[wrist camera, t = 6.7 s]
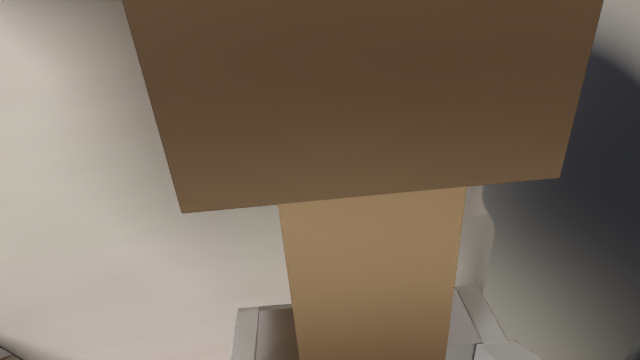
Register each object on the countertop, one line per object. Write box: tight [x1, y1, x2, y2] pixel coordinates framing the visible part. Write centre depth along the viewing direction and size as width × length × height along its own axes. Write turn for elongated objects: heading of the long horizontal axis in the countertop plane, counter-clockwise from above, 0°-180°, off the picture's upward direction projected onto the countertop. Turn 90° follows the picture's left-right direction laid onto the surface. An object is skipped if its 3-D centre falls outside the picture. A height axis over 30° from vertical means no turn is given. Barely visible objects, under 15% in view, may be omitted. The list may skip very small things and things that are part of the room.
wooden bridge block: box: [122, 0, 603, 360], centre depth 14 cm, size 26×9×8 cm, turn 4°
